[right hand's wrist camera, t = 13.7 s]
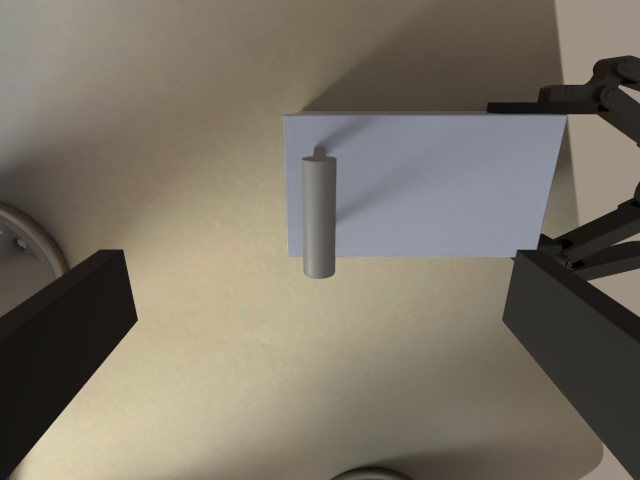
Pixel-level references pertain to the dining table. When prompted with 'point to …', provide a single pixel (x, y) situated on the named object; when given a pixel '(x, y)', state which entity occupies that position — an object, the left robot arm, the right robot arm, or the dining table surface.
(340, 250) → the lid
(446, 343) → the dining table surface
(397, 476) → the left robot arm
